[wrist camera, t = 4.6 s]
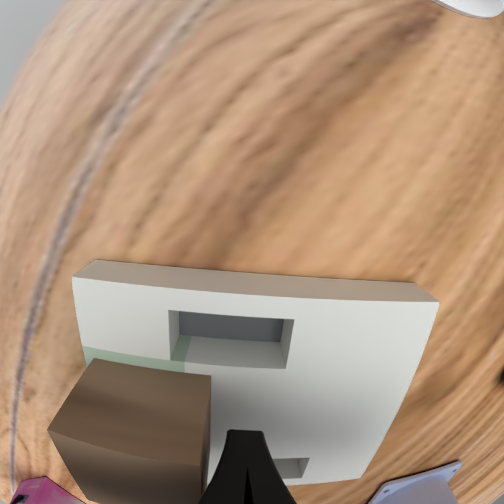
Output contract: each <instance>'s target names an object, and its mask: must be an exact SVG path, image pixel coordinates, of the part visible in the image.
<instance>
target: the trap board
mask: <svg viewBox="0 0 504 504" xmlns="http://www.w3.org/2000/svg"><path fill="white" fill-rule="evenodd" d="M71 278H72V287H73V295H74V302H75V309H76V315H77V321H78V327H79V333H80V338H81V343H82V348H83V353H84V357H85V362H86V366H87V367H88V366H89V364H90V363H91V361H92V360H93V358H97V359H102V360H107V361H112V362H118V363H123V364H129V365H135V366H141V367H147V368H154V369H160V370H168V371H175V372H184V373H192V374H202V375H211V420H210V458H209V469H208V480H207V483H210V481H211V479H212V477H213V475H214V472H215V470H216V468H217V465H218V463H219V460H220V458H221V455H222V452H223V449H224V445H225V441H226V435H227V431H228V430H230V429H235V430H257V431H262V432H263V433H264V436H265V440H266V443H267V446H268V449H269V452H270V454H271V457H272V459H273V462H274V464H275V466H276V468H277V470H278V472H279V474H280V476H281V478H282V480H283V482H284V484H285V485H303V484H316V483H327V482H336V481H344V480H351V479H357V478H361V476H362V474H363V473H364V471H365V470H366V468H367V466H368V465H369V463H370V461H371V460H372V458H373V456H374V455H375V453H376V451H377V449H378V448H379V446H380V444H381V442H382V441H383V439H384V437H385V435H386V433H387V431H388V429H389V428H390V426H391V424H392V422H393V420H394V418H395V416H396V414H397V412H398V410H399V408H400V405H401V403H402V401H403V399H404V397H405V395H406V392H407V390H408V388H409V386H410V383H411V381H412V379H413V376H414V374H415V372H416V369H417V367H418V364H419V362H420V359H421V357H422V354H423V351H424V349H425V346H426V343H427V340H428V338H429V335H430V332H431V329H432V326H433V323H434V320H435V317H436V313H437V310H438V307H439V304H440V302H439V301H438V300H437V299H436V298H434V297H433V296H432V295H430V294H429V293H428V292H427V291H425V290H424V289H423V288H421V287H420V286H419V285H418V284H416V283H407V282H387V281H368V280H350V279H333V278H317V277H301V276H286V275H272V274H258V273H245V272H232V271H219V270H206V269H194V268H182V267H171V266H160V265H148V264H138V263H127V262H117V261H106V260H94V261H93V262H91V263H90V264H88V265H87V266H86V267H84V268H83V269H81V270H80V271H79V272H77V273H76V274H74V275H73V276H72V277H71Z"/></svg>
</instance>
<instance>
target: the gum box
mask: <svg viewBox="0 0 504 504" xmlns="http://www.w3.org/2000/svg"><path fill="white" fill-rule="evenodd" d="M10 504H85V503H83V502H82V501H80V500H78V499H77V498H75V497H74V496H72V495H71V494H69V493H68V492H66V491H65V490H63V489H62V488H60V487H59V486H58V485H56V484H55V483H54V482H52V481H51V480H50V479H48V478H47V477H42V478H35V479H29V480H26V481H21V483H20V485H19V487H18V488H17V490H16V492H15V494H14V496H13V498H12V500H11V502H10Z"/></svg>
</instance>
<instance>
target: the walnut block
mask: <svg viewBox="0 0 504 504" xmlns="http://www.w3.org/2000/svg"><path fill="white" fill-rule="evenodd" d="M210 420H211V375H202V374H192V373H184V372H175V371H168V370H160V369H154V368H147V367H141V366H135V365H129V364H123V363H118V362H112V361H107V360H102V359H97V358H93V360H92V361H91V363H90V364H89V366H88V367H87V369H86V370H85V372H84V373H83V374H82V376H81V377H80V379H79V380H78V382H77V383H76V385H75V386H74V388H73V389H72V391H71V393H70V394H69V396H68V397H67V399H66V400H65V402H64V403H63V405H62V406H61V408H60V410H59V411H58V413H57V414H56V416H55V417H54V419H53V421H52V422H51V424H50V426H49V427H48V429H47V431H48V433H49V435H50V437H51V439H52V441H53V443H54V444H55V446H56V448H57V450H58V452H59V454H60V456H61V457H62V459H63V461H64V463H65V464H66V466H67V468H68V470H69V471H70V473H71V475H72V476H73V478H74V479H75V481H76V483H77V484H78V486H79V487H80V489H81V490H82V492H83V493H84V495H85V496H86V498H87V499H88V500H90V501H93V502H97V503H100V504H198V503H199V501H200V499H201V498H202V496H203V494H204V492H205V490H206V489H207V480H208V469H209V458H210Z"/></svg>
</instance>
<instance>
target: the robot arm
mask: <svg viewBox="0 0 504 504" xmlns="http://www.w3.org/2000/svg"><path fill="white" fill-rule="evenodd" d="M461 465H462V462H461V461H457V462H454V463H451V464H448V465H445V466H443V467H440V468H436V469H433V470H430V471H427V472H423V473H420V474H417V475H413V476H409V477H405V478H401V479H397V480H393V481H389V482H386V483H385V484H383V485H382V486H381V488H380V489H379V490H378V492H377V493H376V494H375V495H374V497H373V498H372V499H371V500H370V502H369V503H368V504H458V502H457V500H456V498H455V496H454V494H453V492H452V490H451V488H450V486H449V484H448V483H447V482H448V481H449V480H450V479H451V477H452V476H453V475H454V474H455V473H456V472H457V470H458V469H459V468H460V467H461ZM198 504H297V503H296V502H295V500H294V499H293V497H292V495H291V494H290V492H289V491H288V489H287V487H286V485H285V484H284V482H283V480H282V478H281V476H280V474H279V472H278V470H277V468H276V466H275V464H274V462H273V459H272V457H271V454H270V452H269V449H268V446H267V443H266V440H265V436H264V433H263V432H262V431H257V430H235V429H230V430H228V431H227V435H226V441H225V445H224V449H223V452H222V455H221V458H220V460H219V463H218V465H217V468H216V470H215V472H214V475H213V477H212V479H211V481H210V483H209V485H208V487H207V489H206V490H205V492H204V494H203V496H202V498H201V499H200V501H199V503H198Z"/></svg>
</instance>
